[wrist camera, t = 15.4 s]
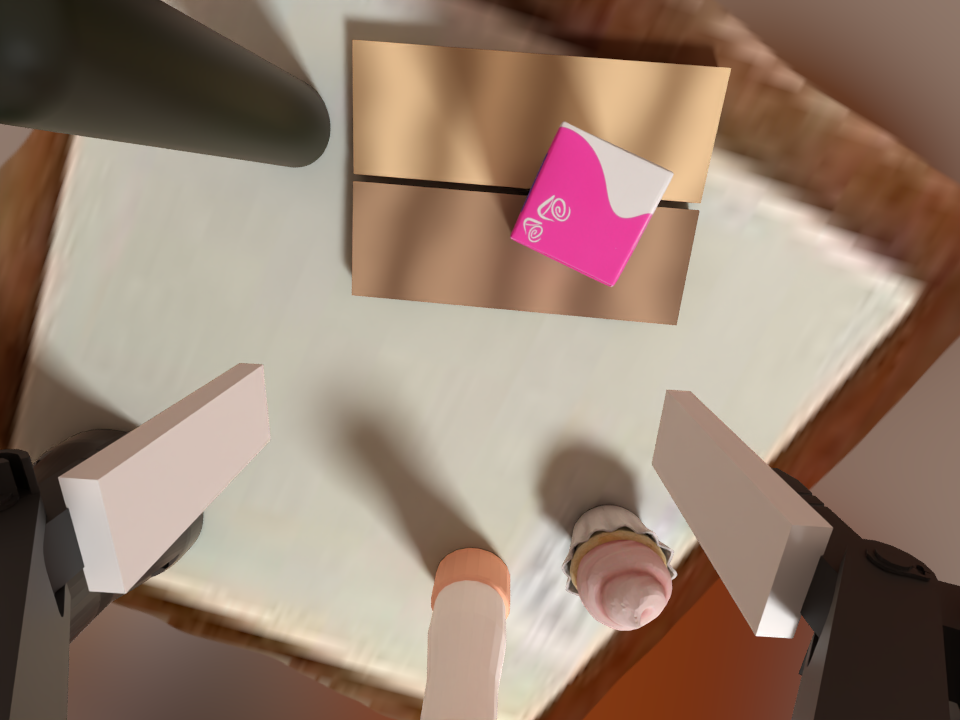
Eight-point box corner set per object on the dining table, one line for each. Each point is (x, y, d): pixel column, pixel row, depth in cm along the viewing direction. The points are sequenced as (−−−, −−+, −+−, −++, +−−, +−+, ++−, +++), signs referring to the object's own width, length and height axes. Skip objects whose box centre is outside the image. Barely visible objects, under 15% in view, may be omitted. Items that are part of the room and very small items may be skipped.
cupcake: (618, 587, 45) (647, 691, 35) (537, 543, 44) (544, 637, 34) (681, 521, 42) (731, 614, 32) (596, 471, 41) (622, 553, 31)
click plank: (690, 211, 33) (699, 210, 32) (668, 321, 35) (676, 325, 34) (360, 183, 34) (353, 181, 32) (358, 292, 36) (351, 295, 34)
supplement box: (544, 155, 31) (564, 113, 20) (622, 193, 32) (684, 173, 21) (507, 236, 33) (507, 238, 22) (582, 271, 33) (620, 291, 22)
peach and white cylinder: (421, 573, 46) (362, 818, 28) (474, 534, 44) (449, 770, 26) (471, 617, 47) (447, 877, 29) (525, 581, 45) (535, 836, 27)
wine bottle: (244, 79, 32) (-1669, -784, 4) (324, 75, 32) (-1158, -917, 4) (259, 168, 34) (-962, 18, 6) (335, 165, 34) (-576, -11, 5)
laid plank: (360, 174, 34) (353, 173, 32) (359, 47, 31) (352, 39, 30) (691, 202, 33) (700, 203, 32) (719, 74, 30) (731, 68, 29)
